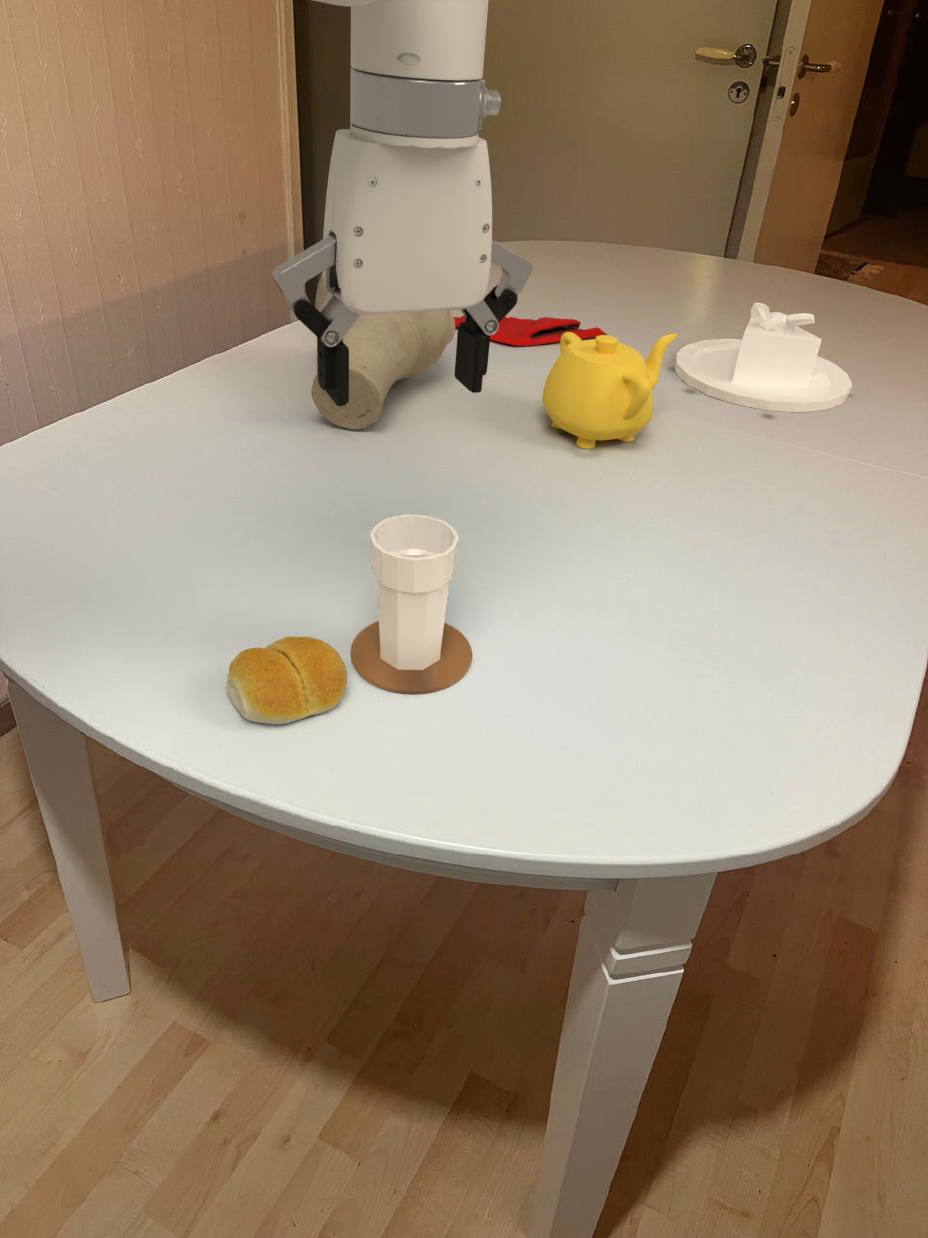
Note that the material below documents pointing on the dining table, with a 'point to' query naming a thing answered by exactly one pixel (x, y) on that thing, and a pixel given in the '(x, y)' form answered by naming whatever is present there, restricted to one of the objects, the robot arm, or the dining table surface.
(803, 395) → the dish
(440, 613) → the cup
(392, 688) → the coaster
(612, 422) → the teapot
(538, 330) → the cloth
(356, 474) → the dining table surface
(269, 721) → the bread roll
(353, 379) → the vase
